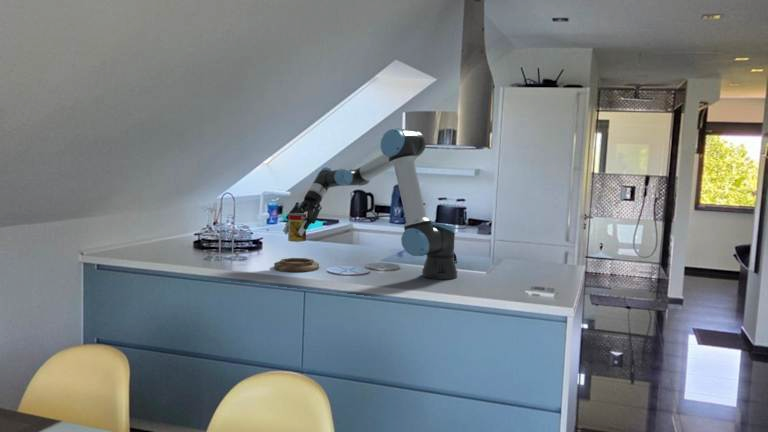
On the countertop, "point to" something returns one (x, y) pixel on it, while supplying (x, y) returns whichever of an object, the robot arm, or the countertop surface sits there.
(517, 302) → the countertop surface
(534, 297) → the countertop surface
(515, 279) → the countertop surface
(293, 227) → the canned food
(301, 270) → the hub trivet
